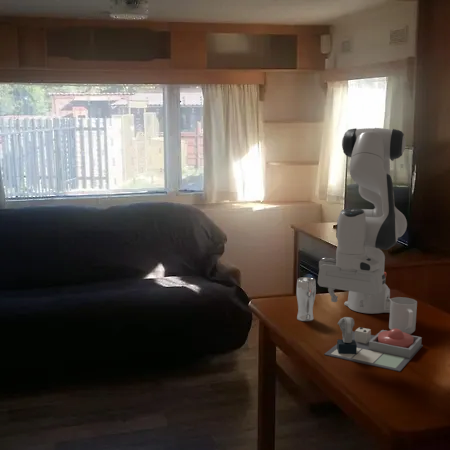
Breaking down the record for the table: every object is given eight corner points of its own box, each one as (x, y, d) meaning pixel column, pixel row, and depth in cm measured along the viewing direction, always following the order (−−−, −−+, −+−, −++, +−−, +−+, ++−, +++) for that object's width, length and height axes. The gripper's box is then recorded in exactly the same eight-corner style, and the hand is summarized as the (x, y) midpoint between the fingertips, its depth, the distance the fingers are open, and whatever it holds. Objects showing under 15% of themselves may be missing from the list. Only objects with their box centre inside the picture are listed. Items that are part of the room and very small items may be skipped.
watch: (353, 346, 204) (355, 314, 202) (357, 356, 196) (358, 322, 194) (336, 346, 204) (337, 313, 202) (338, 355, 196) (340, 321, 194)
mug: (385, 327, 224) (386, 297, 222) (409, 326, 224) (411, 296, 222) (397, 339, 212) (398, 307, 210) (422, 338, 213) (424, 307, 211)
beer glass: (314, 322, 228) (315, 282, 226) (294, 321, 230) (296, 281, 227) (315, 316, 235) (316, 277, 232) (296, 315, 236) (297, 276, 234)
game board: (352, 332, 218) (353, 319, 218) (422, 345, 206) (423, 332, 205) (324, 354, 198) (324, 341, 197) (399, 371, 185) (400, 357, 184)
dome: (384, 337, 211) (384, 321, 210) (417, 343, 205) (418, 327, 204) (373, 347, 202) (374, 330, 201) (407, 354, 196) (408, 337, 195)
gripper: (315, 258, 197) (313, 301, 200) (378, 267, 187) (376, 311, 189) (323, 255, 203) (321, 296, 205) (385, 263, 192) (383, 306, 194)
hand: (348, 304), depth 197 cm, fingers open, 8 cm apart
